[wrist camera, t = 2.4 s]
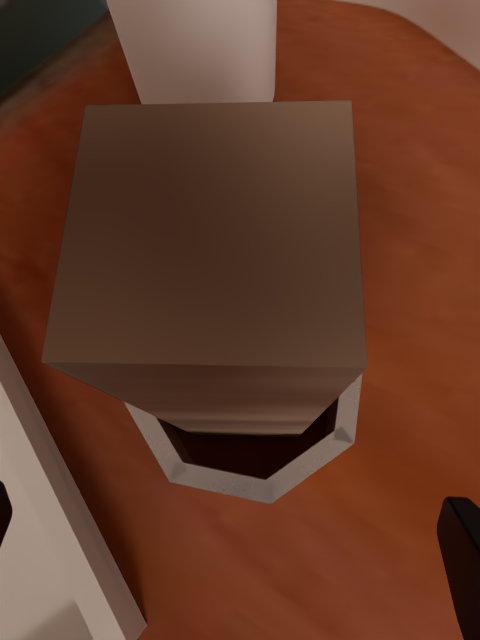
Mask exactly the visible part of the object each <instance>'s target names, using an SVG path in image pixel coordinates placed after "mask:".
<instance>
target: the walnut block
mask: <svg viewBox="0 0 480 640" xmlns="http://www.w3.org/2000/svg"><path fill="white" fill-rule="evenodd" d="M41 362H42V363H44V364H46V365H48V366H50V367H52V368H54V369H56V370H59V371H61V372H63V373H65V374H67V375H69V376H71V377H73V378H75V379H77V380H80V381H82V382H84V383H86V384H88V385H90V386H92V387H94V388H96V389H98V390H101V391H103V392H105V393H107V394H109V395H111V396H113V397H115V398H117V399H119V400H122V401H124V402H126V403H128V404H130V405H132V406H134V407H136V408H138V409H140V410H143V411H145V412H147V413H149V414H151V415H153V416H155V417H157V418H159V419H162V420H164V421H166V422H168V423H170V424H172V425H174V426H176V427H178V428H180V429H183V430H185V431H187V432H189V433H191V434H193V435H215V436H252V437H288V438H298V437H299V436H300V435H301V434H302V433H303V432H304V431H305V430H306V429H307V428H308V427H309V426H310V425H311V424H312V423H313V422H314V421H315V420H316V419H317V418H318V417H319V416H320V415H321V414H322V413H323V412H324V411H325V410H326V409H327V408H328V407H329V406H330V405H331V404H332V403H333V402H334V401H335V400H336V399H337V398H338V397H339V396H340V395H341V394H342V393H343V392H344V391H345V390H346V389H347V388H348V387H349V386H350V385H351V384H352V383H353V382H354V381H355V380H356V379H357V378H358V377H359V376H360V375H361V374H362V373H363V372H364V371H365V370H366V369H367V352H366V335H365V319H364V302H363V285H362V269H361V252H360V236H359V219H358V202H357V186H356V169H355V153H354V136H353V119H352V103H351V101H297V102H242V103H188V104H133V105H85V111H84V117H83V123H82V128H81V134H80V140H79V146H78V151H77V157H76V163H75V169H74V174H73V180H72V186H71V192H70V197H69V203H68V209H67V215H66V220H65V226H64V232H63V237H62V243H61V249H60V255H59V260H58V266H57V272H56V278H55V283H54V289H53V295H52V301H51V306H50V312H49V318H48V324H47V329H46V335H45V341H44V347H43V352H42V358H41Z"/></svg>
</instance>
